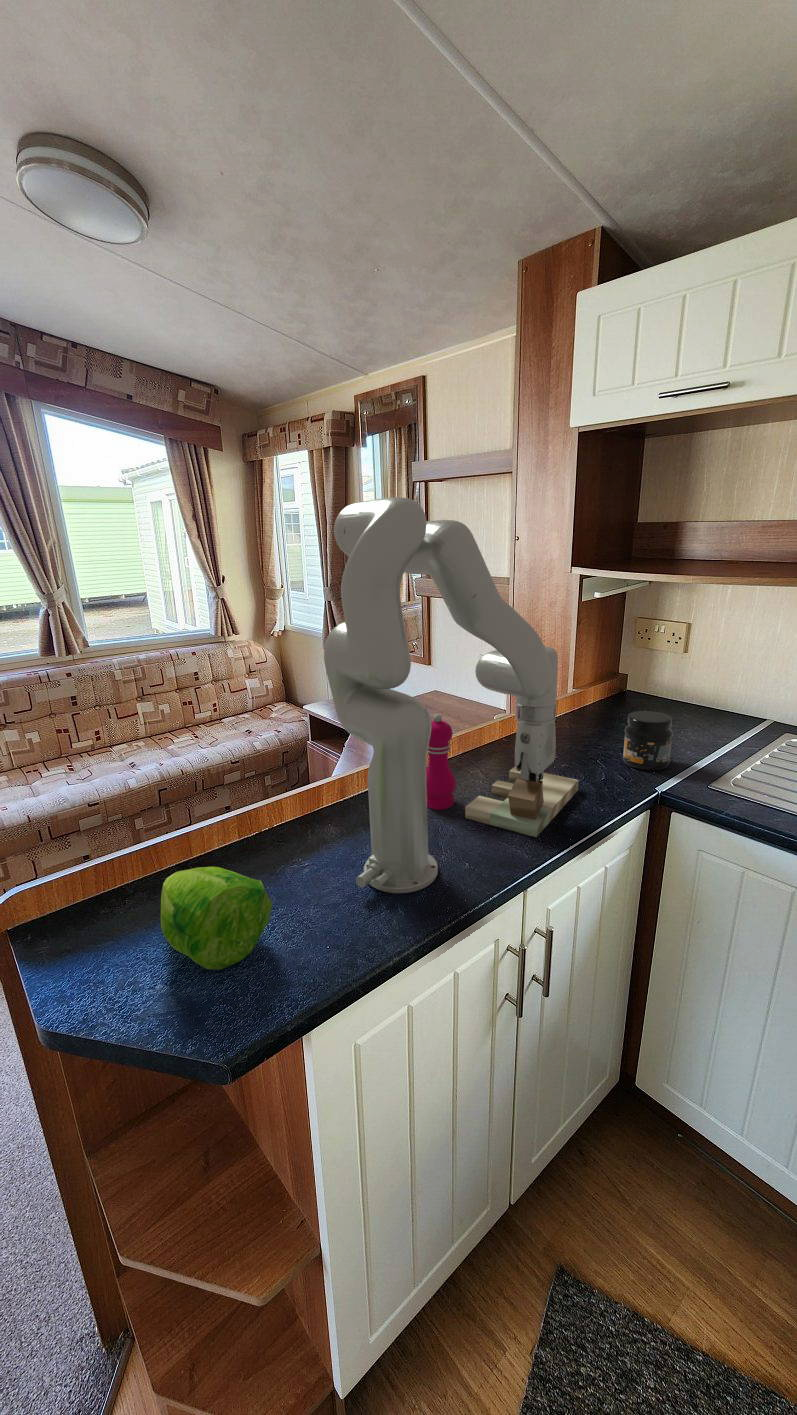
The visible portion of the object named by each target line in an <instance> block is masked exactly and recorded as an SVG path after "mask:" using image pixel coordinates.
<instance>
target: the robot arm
mask: <svg viewBox="0 0 797 1415" xmlns="http://www.w3.org/2000/svg"><path fill="white" fill-rule="evenodd" d="M333 525H334V526H333V535H334V539H335V543H336V544H337V546H338V548H339V549H340V551H342V552H343V553H344V554H345V555H346V556H348V558H347V562H346V564H345V567H344V570H343V573H342V577H341V584H340V596H341V597H340V598H341V605H342V611H343V612H342V613H343V616H344V621H343V622H341V623H339V624H338V625H336V626H335V627H334V628H332V629H331V631H330V633H328V635H327V638H326V641H325V643H324V649H323V661H324V667H325V671H326V677H327V679H328V680H327V681H328V683H329V688H330V692H331V697H332V700H333V703H334V704H333V705H334V708H335V712H336V716H337V717H338V721H339V722H340V725H341V726H342V728H343V729H344V731H346V732H347V733H348V734H349V735H351V736H353V737H354V738H356V739H359V740H360V741H362V742H364V743H366V744H368V745H369V746H372V748H373V753H372V758H371V760H370V763H369V765H368V766H369V767H368V772H367V791H368V807H369V808H368V809H369V825H370V827H369V829H370V845H371V855H370V856H369V857H368V859H367V860H366V861H365V864H364V865H363V872H362V873H360V874H359V875H358V876H356V878H355V883H356V885H357V886H358V887H359V888H365V887H366V886H367V885H370V887H373V888H375V889H376V890H379V891H380V892H381V891H382V892H384V893H390V894H408V893H413V892H417V891H421V890H422V889H425V888H426V887H429V886H430V885H431V884H433V882H435V880H436V878H437V876H438V873H439V872H438V871H439V870H438V868H439V867H438V862H437V860H436V859H435V858H434V856H432V855H431V854H429V837H428V836H429V835H428V834H429V833H428V832H429V829H428V827H429V826H428V807H427V786H426V769H427V765H428V764H427V758H428V746H429V741H430V735H431V721H432V719H431V714H430V713H429V711H428V710H427V707H426V706H425V705H424V704H423V703H422V702H421V701H420V700H418V699H417V698H415V697H414V696H411V695H409V694H407V693H403V692H401V691H397V690H394V688H398V687H399V686H402V684H404V683H405V681H406V680H407V679H408V677H409V675H410V673H411V666H412V664H411V662H412V661H411V660H412V659H411V651H410V646H409V640H408V635H407V629H406V625H405V619H404V614H403V607H402V599H401V584H402V581H403V580H402V579H403V576H404V574H410V575H420V576H421V575H423V576H424V575H425V576H430V577H431V578H432V580H433V582H434V584H435V586H436V588H437V590H438V592H439V594H440V597H441V598H442V600H443V601H444V603H445V605H446V607H447V609H448V611H449V613H450V615H451V617H452V619H453V621H454V622H455V623H456V624H457V625H458V626H459V627H461V628H462V629H463V630H464V631H466V632H467V633H469V634H471V635H472V636H473V637H475V638H478V639H480V640H482V641H483V642H484V643H486V644H488V645H489V646H491V647H492V648H494V649H495V650H492V651H489V652H487V653H485V654H484V655H482V656H481V657H480V658H479V659H478V661H477V663H476V666H475V671H474V672H475V676H476V679H477V682H478V683H479V684H480V685H481V686H482V687H483V688H485V689H487V690H489V691H491V692H496V693H500V694H504V695H509V696H512V697H515V709H514V710H515V713H514V714H515V716H514V717H515V720H516V721H517V726H516V736H515V744H514V745H515V746H514V767H515V768H516V770H517V771H520V770H521V774H520V779H521V780H525V781H533V782H539V783H542V786H543V781H541V780H543V776H544V773H545V770H547V768H549V767H550V766H551V765H552V763H553V762H554V761H555V760H556V751H557V750H556V749H557V748H556V746H557V745H556V722H555V721H556V718H557V716H556V715H557V693H558V692H557V689H558V670H559V669H558V668H559V667H558V666H559V654H558V651H557V650H556V649H555V648H553V647H551V646H547V645H544V642H543V641H542V639H541V636H539V634H538V632H537V631H536V630H535V629H534V627H533V626H531V624H530V623H529V622H528V621H527V620H526V619H524V618H523V616H521V614H520V613H519V612H517V610H515V609H514V608H513V607H512V606H511V605H510V604H509V603H507V602H506V601H505V600H504V599H503V597H501V594H500V593H499V591H498V588H497V586H496V584H495V582H494V580H493V577H492V575H491V573H490V571H489V568H488V566H487V563H486V562H485V559H484V557H483V555H482V552H481V550H480V548H479V545H478V544H477V541H476V539H475V537H474V534H473V533H472V531H471V530H470V528H469V527H468V526H467V525H466V524H465V523H463V522H461V521H458V520H454V519H453V520H452V519H441V520H440V519H437V520H427V518H426V513H425V511H424V509H423V508H422V505H420V504H419V502H417V501H415V500H414V499H411V498H407V497H402V496H401V497H400V496H392V497H382V498H378V499H377V498H376V499H372V500H371V499H370V500H365V501H359V502H354V503H351V504H348V505H346V506H345V507H344V508H343V509H341V511H340V512H339V513H338V515H337V517H336V518H335V521H334V524H333Z"/></svg>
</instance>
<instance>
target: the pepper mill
mask: <svg viewBox="0 0 797 1415" xmlns="http://www.w3.org/2000/svg"><path fill="white" fill-rule="evenodd" d="M452 738H453V729H452V727H451V725H450V724H449V723H448V722H447V721H444V720H443V718H442V715H441V714H439V713H435V714H434V715H433V718H432V720H431V735H430V741H429V746H428V752H427V755H428V764H427V766H426V786H427V809H428V808H429V809H430V810H438V811H439V810H446V809H449V808H451V807H453V805H454V804H455V803H454V801H455V800H454V796H455V795H454V794H453V792H454V791H455V790H456V787H457V784H456V779H455V775H454V773H453V771H452V769H451V766H450V764H449V752H450V751H451V743H450V741H451V740H452Z"/></svg>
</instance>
